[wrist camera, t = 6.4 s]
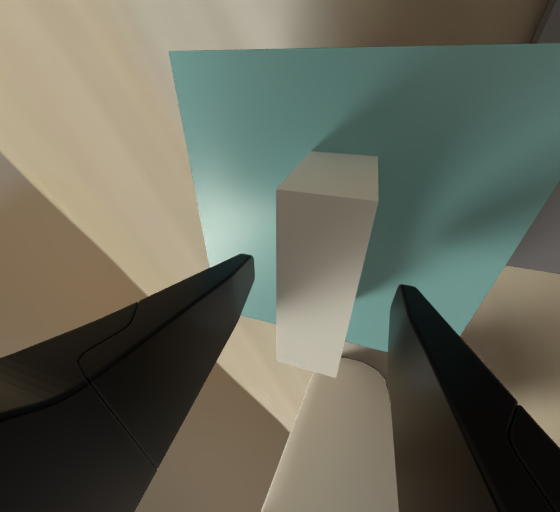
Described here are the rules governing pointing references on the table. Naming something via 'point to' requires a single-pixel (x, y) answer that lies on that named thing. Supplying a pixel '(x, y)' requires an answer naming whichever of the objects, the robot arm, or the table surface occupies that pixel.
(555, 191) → the mat
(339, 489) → the foam cup
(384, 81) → the cover plate
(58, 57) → the table surface
